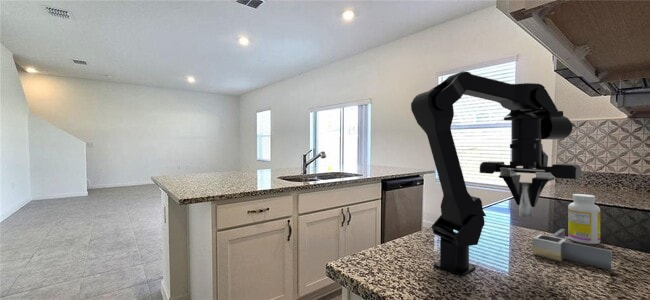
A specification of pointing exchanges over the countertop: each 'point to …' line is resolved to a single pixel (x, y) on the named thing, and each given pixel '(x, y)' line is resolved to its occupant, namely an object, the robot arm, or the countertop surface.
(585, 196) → the supplement bottle
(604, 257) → the hinge
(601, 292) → the countertop surface
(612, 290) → the countertop surface
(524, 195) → the hinge pin
